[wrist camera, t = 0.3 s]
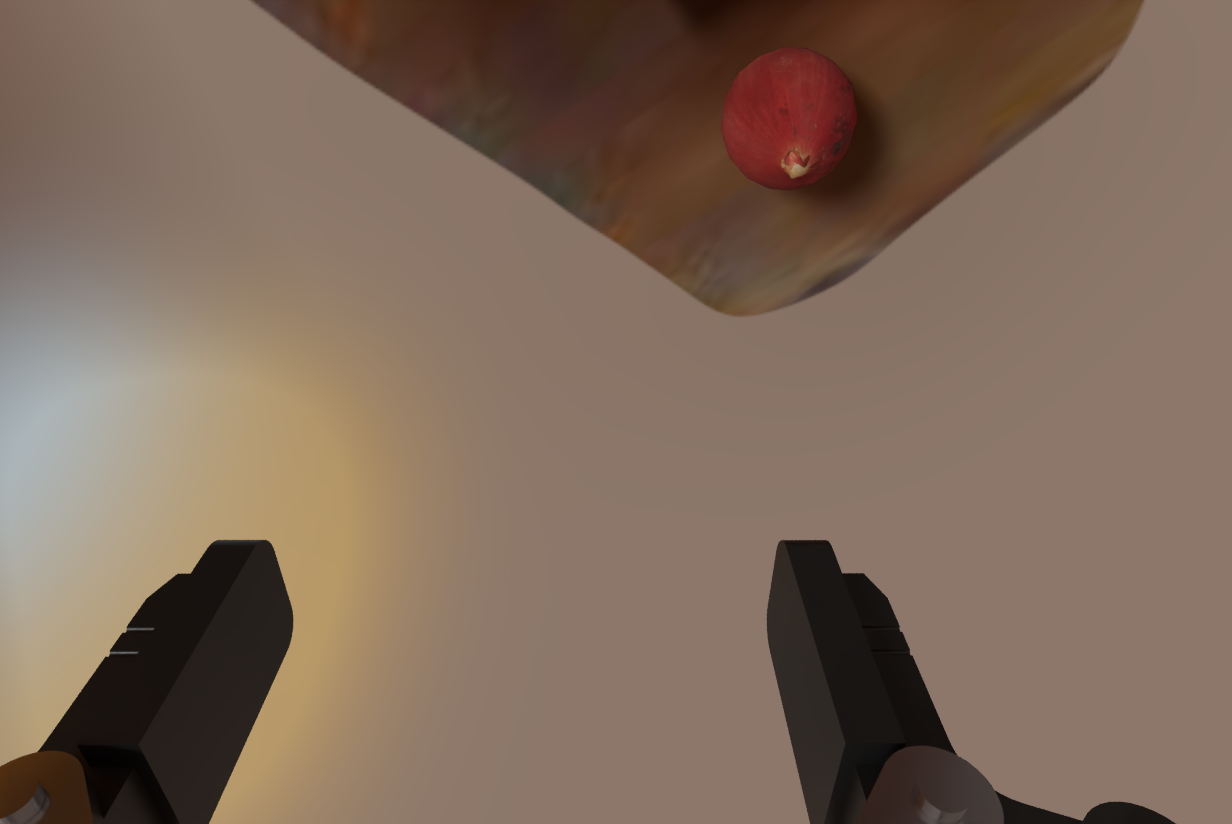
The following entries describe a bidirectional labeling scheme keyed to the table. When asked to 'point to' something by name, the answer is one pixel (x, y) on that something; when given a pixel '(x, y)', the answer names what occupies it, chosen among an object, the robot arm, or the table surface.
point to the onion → (789, 118)
